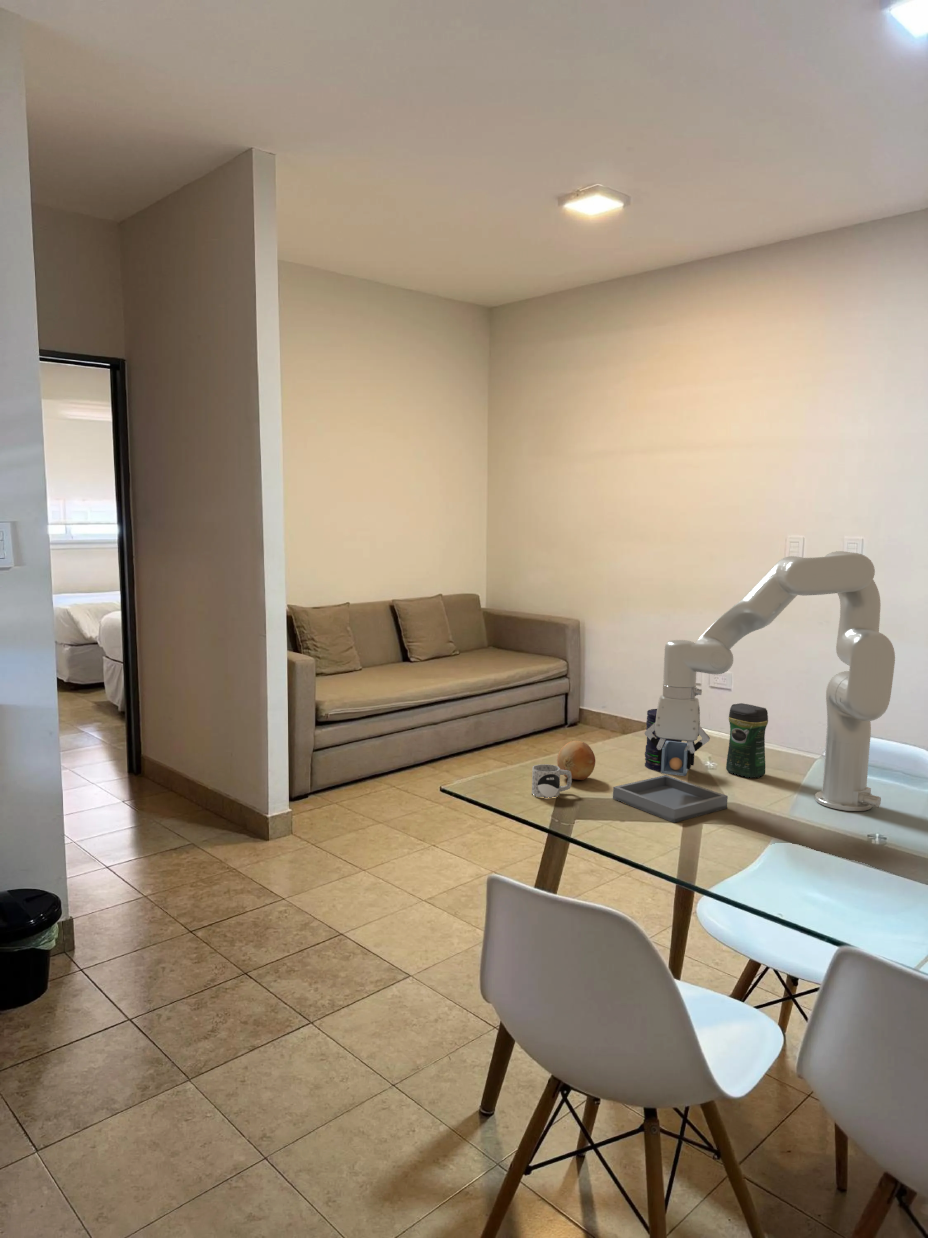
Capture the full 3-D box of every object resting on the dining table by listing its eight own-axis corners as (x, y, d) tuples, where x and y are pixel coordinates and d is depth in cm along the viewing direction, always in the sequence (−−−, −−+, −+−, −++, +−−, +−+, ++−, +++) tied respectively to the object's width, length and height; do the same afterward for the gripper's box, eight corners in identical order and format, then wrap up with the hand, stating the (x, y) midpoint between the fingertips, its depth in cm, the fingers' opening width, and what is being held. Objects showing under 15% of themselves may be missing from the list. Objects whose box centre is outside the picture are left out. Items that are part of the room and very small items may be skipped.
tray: (726, 808, 202) (727, 796, 202) (674, 822, 192) (674, 809, 192) (664, 786, 218) (665, 775, 217) (612, 799, 207) (613, 787, 207)
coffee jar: (770, 775, 229) (774, 706, 226) (751, 781, 224) (756, 710, 222) (739, 767, 236) (742, 699, 234) (720, 771, 232) (724, 703, 229)
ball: (686, 759, 206) (681, 766, 204) (681, 768, 208) (676, 774, 206) (675, 752, 207) (670, 759, 205) (670, 761, 209) (665, 767, 207)
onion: (552, 782, 219) (553, 744, 218) (561, 772, 229) (562, 734, 228) (590, 787, 216) (592, 748, 215) (597, 776, 226) (599, 738, 224)
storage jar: (682, 773, 229) (685, 718, 228) (644, 770, 231) (646, 715, 230) (680, 763, 239) (683, 709, 237) (644, 760, 241) (646, 707, 239)
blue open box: (665, 764, 213) (666, 740, 213) (689, 767, 212) (690, 743, 211) (660, 773, 206) (662, 748, 205) (685, 776, 204) (686, 751, 203)
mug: (537, 800, 206) (538, 773, 205) (527, 791, 212) (528, 765, 211) (576, 797, 208) (577, 770, 208) (565, 788, 215) (566, 762, 214)
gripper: (717, 692, 207) (713, 766, 209) (644, 686, 213) (641, 758, 215) (715, 698, 200) (711, 775, 202) (640, 692, 206) (636, 766, 208)
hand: (675, 765), depth 209 cm, fingers closed on blue open box, 5 cm apart
